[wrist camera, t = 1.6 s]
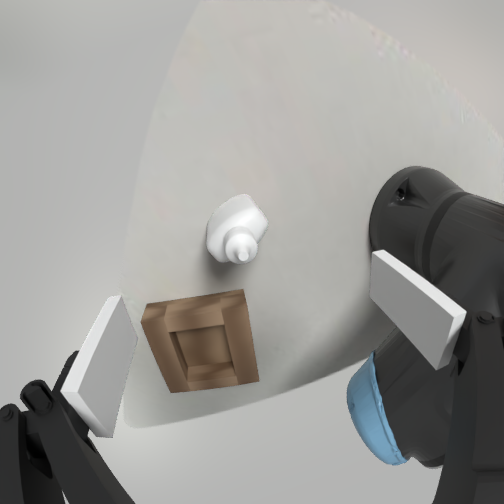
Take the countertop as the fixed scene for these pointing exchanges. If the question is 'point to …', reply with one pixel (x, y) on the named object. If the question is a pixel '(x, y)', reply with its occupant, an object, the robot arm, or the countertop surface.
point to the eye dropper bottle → (236, 230)
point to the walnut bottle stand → (202, 341)
